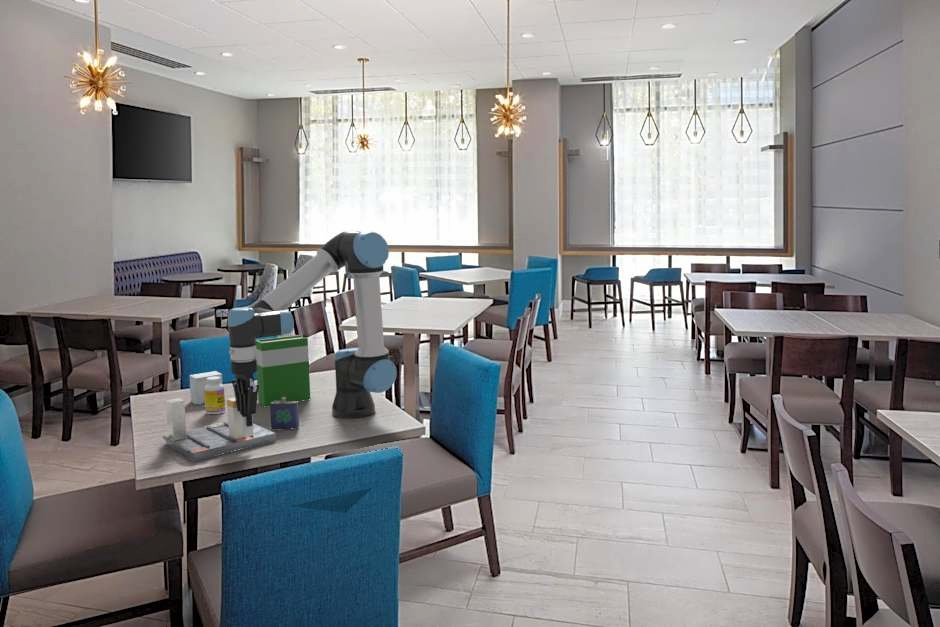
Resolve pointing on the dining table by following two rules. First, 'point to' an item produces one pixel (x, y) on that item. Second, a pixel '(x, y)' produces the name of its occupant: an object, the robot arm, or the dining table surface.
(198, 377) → the skincare box
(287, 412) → the flask
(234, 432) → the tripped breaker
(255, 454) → the dining table surface
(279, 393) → the hardback book
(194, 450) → the grey slotted tray
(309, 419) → the dining table surface
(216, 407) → the supplement bottle
